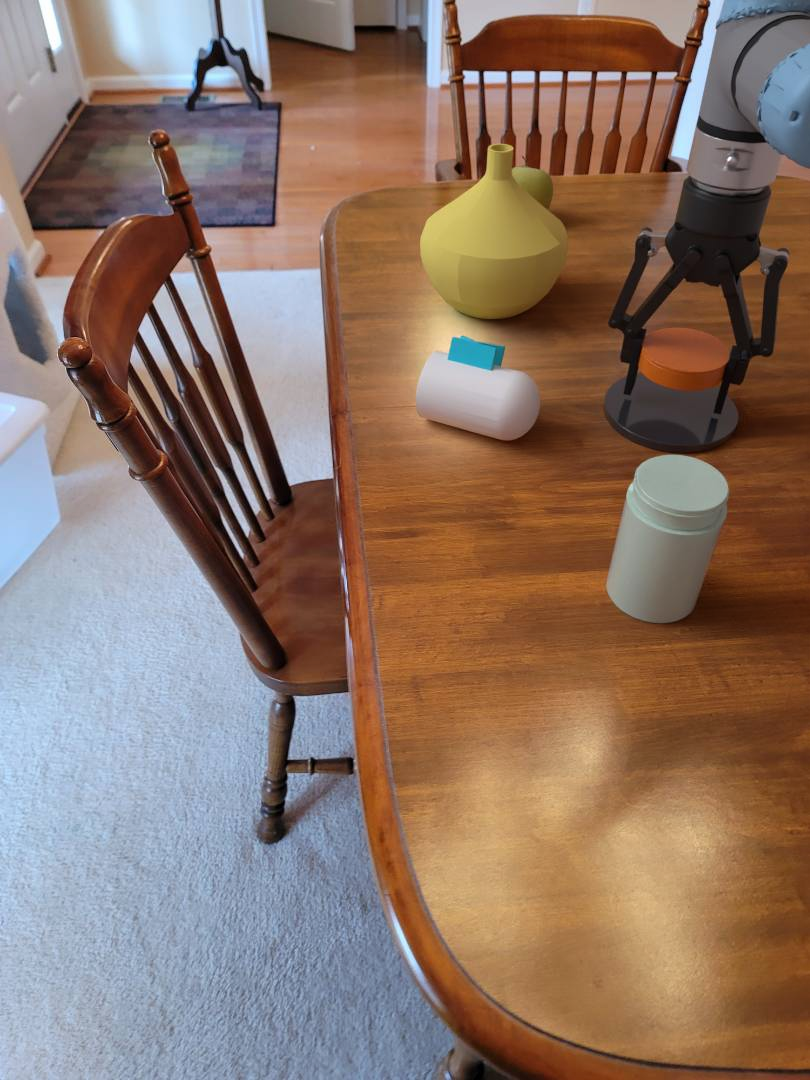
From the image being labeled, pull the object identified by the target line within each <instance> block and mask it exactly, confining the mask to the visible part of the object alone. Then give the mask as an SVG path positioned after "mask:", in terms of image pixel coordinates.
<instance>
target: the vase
mask: <svg viewBox="0 0 810 1080" xmlns="http://www.w3.org/2000/svg"><path fill="white" fill-rule="evenodd" d="M513 157H514V147H513V146H512V145H510V144H507V143H493V144H490V145H488V146H487V156H486V170H485V174H484V175H483V177H481V178H480V179H479V181H478V182H477V183H475V184H474V185H473V186H472V187H470V188H469V189H467V190H466V191H465V192H463V193H462V194H460V195H459V196H458V197H456V198H455V199H454V200H452V201H450V202H449V203H447V204H445V205H444V206H443V207H442V208H440V209H439V210H437V211H435V212H434V213H433V214H432V215H430V216H429V218H427V220H426V222H425V225H424V226H423V229H422V233H421V236H420V238H419V246H420V247H419V249H420V251H419V252H420V258H421V262H422V265H423V268H424V271H425V272H426V275H427V278H428V280H429V282H430V285H431V286H432V288H434V290H435V291H436V292H437V293H438V295H439V296H440V297H441V298H442V300H443V301H444V302H445V303H446V304H447V305H449V306H451V307H452V308H453V309H456V311H458V312H460V313H462V314H463V315H465V316H469V317H472V318H475V319H476V318H478V319H483V320H502V319H507V318H508V319H509V318H512V317H515V316H518V315H520V314H522V313H524V312H526V311H528V310H529V309H531V308H532V307H534V306H535V305H537V304H538V303H539V302H540V301H541V300H542V299H544V298H545V297H546V295H548V294H549V292H550V291H551V289H552V288H553V287H554V285H555V283H556V282H557V280H558V278H559V277H560V274H561V273H562V272H563V270H564V268H565V266H566V262H567V257H568V250H569V237H568V234H567V233H568V232H567V229H566V226H565V225H564V224H563V222H562V220H561V219H560V218H558V217H557V216H556V215H555V214H553V213H552V212H551V211H549V210H547V209H546V208H544V207H543V206H542V205H541V204H540V203H538V202H537V201H536V200H535V199H534V198H533V197H532V196H531V195H530V194H528V193H527V192H526V191H525V190H524V189H523V188H522V187H521V186H520V185H518V183H517V182H516V180H515V179H514V177H513V176H512V169H513V160H514V159H513Z"/></svg>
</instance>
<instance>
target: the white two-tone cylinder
mask: <svg viewBox="0 0 810 1080" xmlns="http://www.w3.org/2000/svg"><path fill="white" fill-rule="evenodd" d="M449 346H450V347H449V351H448V352H446V351H445V352H444V351H440V350H435V351H433V352H432V353H430V355H429V356H428V357H427V359H426V361H425V362H424V365H423V367H422V369H421V373H420V375H419V378H418V382H417V386H416V393H415V410H416V413H417V415H418V417H420V418H422V419H424V420H425V419H426V420H429V421H433V422H436V423H440V424H444V425H447V426H451V427H454V428H458V429H461V430H465V431H468V432H472V433H475V434H479V435H482V436H486V437H489V438H493V439H497V440H500V441H513V440H517V439H518V438H521V437H523V436H524V435H525V434H526V433H528V432H529V431H530V430H531V429H532V428H533V426H534V425H535V423H536V421H537V419H538V417H539V413H540V409H541V395H540V390H539V388H538V385H537V383H536V381H535V380H534V379H533V378H532V377H531V376H530V375H529V374H527V373H525V372H523V371H521V370H518V369H517V370H516V369H513V368H509V367H504V366H502V364H503V360H504V356H505V351H506V345H500V344H494V343H488V342H483V341H478V340H474V339H472V338H470V337H468V336H466V335H464V334H462V335H460V336H459V337H456V336H452V337H451V342H450V345H449Z"/></svg>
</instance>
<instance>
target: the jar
mask: <svg viewBox="0 0 810 1080" xmlns="http://www.w3.org/2000/svg"><path fill="white" fill-rule="evenodd" d="M729 497H730V490H729V484H728V481H727V479H726V477H725V476H724V475H723V474H722V472H721V471H720V470H718V469H717V468H716V467H714V466H713V465H712V464H710V463H708V462H706V461H704V460H701V459H699V458H696V457H693V456H689V455H684V454H662V455H658V456H657V455H656V456H653V457H651V458H648V459H646V460H645V461H643V462H641V464H639V465H638V467H636V469H635V473H634V476H633V480H632V482H631V483H630V485H628V488H627V491H626V495H625V498H624V502H623V507H622V512H621V516H620V520H619V525H618V529H617V532H616V537H615V540H614V541H615V542H614V546H613V549H612V554H611V558H610V563H609V567H608V572H607V576H606V580H605V588H606V591H607V592H606V593H607V594H608V598H609V599H610V600H611V602H612V603H613V604H614V605H615V606H616V607H617V608H618V609H619V610H620V611H622V612H623V613H625V614H626V615H627V616H629V617H632V618H634V619H637V620H640V621H642V622H647V623H653V624H669V623H674V622H677V621H680V620H682V619H684V618H686V617H687V616H689V615H690V614H691V613H692V611H693V610H694V609H695V606H696V604H697V602H698V599H699V596H700V593H701V590H702V587H703V584H704V581H705V579H706V576H707V573H708V570H709V567H710V565H711V561H712V559H713V556H714V553H715V550H716V547H717V544H718V542H719V540H720V539H719V538H720V536H721V533H722V530H723V528H724V525H725V521H726V518H727V516H728V505H727V503H728V501H729Z"/></svg>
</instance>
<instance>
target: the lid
mask: <svg viewBox="0 0 810 1080" xmlns="http://www.w3.org/2000/svg"><path fill="white" fill-rule="evenodd" d="M730 353H731V350H730V349H729V347H728V346H727V345H726V343H725V342H723V340H721V339H720V338H718V337H716V336H715V335H713V334H711V333H708V332H705V331H702V330H698V329H695V328H694V329H693V328H688V327H665V328H660V329H656V330H654V331H651V332H649V333H648V334H646V335H645V338H644V340H643V342H642V346H641V351H640V355H639V360H638V366H639V368H638V370H639V371H640V373H643V375H644V376H646V377H647V378H648V379H649V380H651V381H653V382H655V383H657V384H659V385H661V386H664V387H667V388H671V389H676V390H683V391H699V390H705V389H709V388H712V387H714V386H715V387H717V386H718V385H720V384H721V383H722V380H723V378H724V375H725V371H726V368H727V365H728V361H729V357H730Z"/></svg>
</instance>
